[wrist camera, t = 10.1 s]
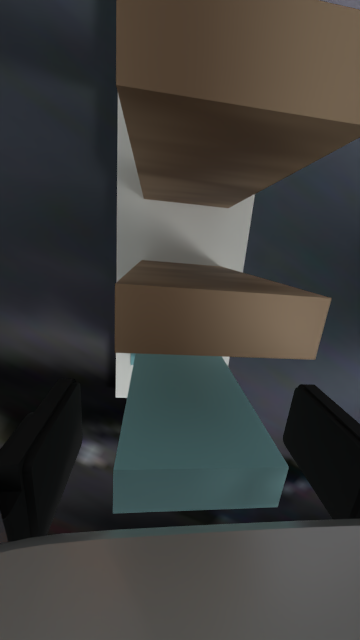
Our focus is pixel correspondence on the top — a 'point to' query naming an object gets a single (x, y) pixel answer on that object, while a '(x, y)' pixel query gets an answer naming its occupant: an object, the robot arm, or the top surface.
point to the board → (170, 233)
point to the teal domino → (192, 441)
